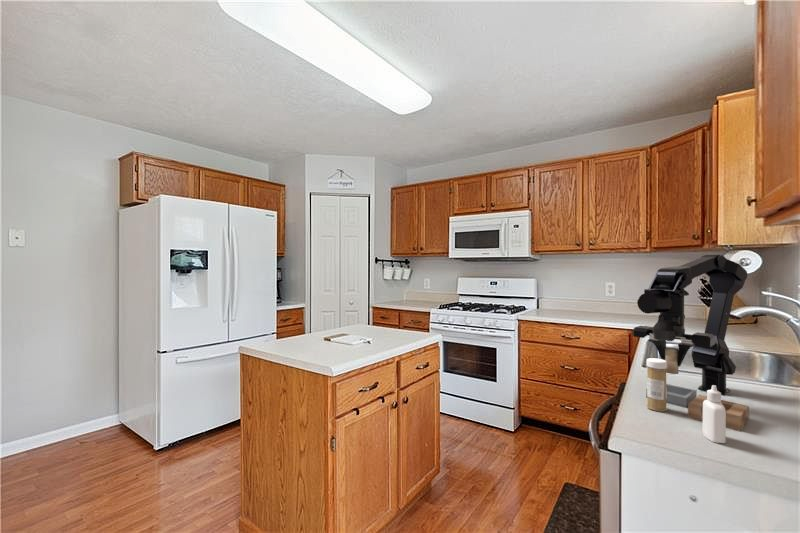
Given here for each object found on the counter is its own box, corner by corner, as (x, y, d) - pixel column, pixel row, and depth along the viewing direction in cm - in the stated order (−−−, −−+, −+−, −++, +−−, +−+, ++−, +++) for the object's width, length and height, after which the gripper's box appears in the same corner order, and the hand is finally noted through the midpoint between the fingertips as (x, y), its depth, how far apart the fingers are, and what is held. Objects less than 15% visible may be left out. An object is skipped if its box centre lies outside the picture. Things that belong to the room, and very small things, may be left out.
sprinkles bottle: (669, 409, 101) (670, 360, 100) (662, 413, 98) (662, 362, 98) (650, 404, 104) (651, 356, 104) (643, 408, 102) (643, 359, 102)
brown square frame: (699, 407, 102) (699, 394, 102) (748, 419, 94) (748, 405, 94) (688, 417, 96) (688, 403, 96) (740, 431, 88) (740, 416, 88)
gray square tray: (657, 390, 115) (657, 381, 115) (696, 399, 108) (696, 390, 108) (646, 397, 109) (646, 388, 109) (686, 407, 102) (686, 398, 102)
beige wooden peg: (663, 372, 109) (663, 348, 109) (667, 370, 111) (667, 346, 111) (676, 374, 106) (676, 350, 106) (680, 372, 108) (680, 348, 108)
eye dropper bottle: (728, 437, 85) (728, 385, 85) (724, 445, 81) (725, 391, 81) (703, 431, 88) (704, 380, 88) (699, 438, 84) (699, 386, 84)
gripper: (625, 310, 111) (625, 363, 111) (704, 318, 96) (704, 378, 96) (639, 307, 117) (639, 356, 118) (715, 313, 103) (715, 370, 103)
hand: (671, 364), depth 108 cm, fingers closed on beige wooden peg, 3 cm apart
